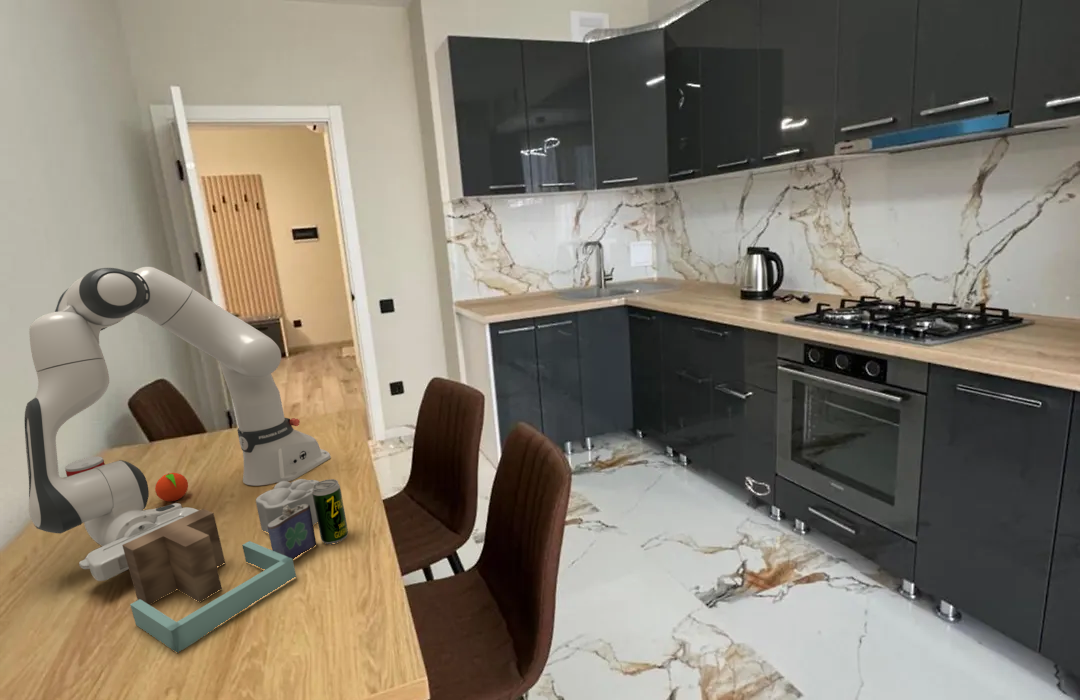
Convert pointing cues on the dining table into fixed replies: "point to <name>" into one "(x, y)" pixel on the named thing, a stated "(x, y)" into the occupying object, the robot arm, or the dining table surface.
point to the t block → (177, 559)
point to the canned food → (83, 465)
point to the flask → (292, 531)
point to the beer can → (330, 511)
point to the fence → (217, 601)
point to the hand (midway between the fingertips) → (170, 552)
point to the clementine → (171, 487)
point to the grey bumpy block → (285, 500)
